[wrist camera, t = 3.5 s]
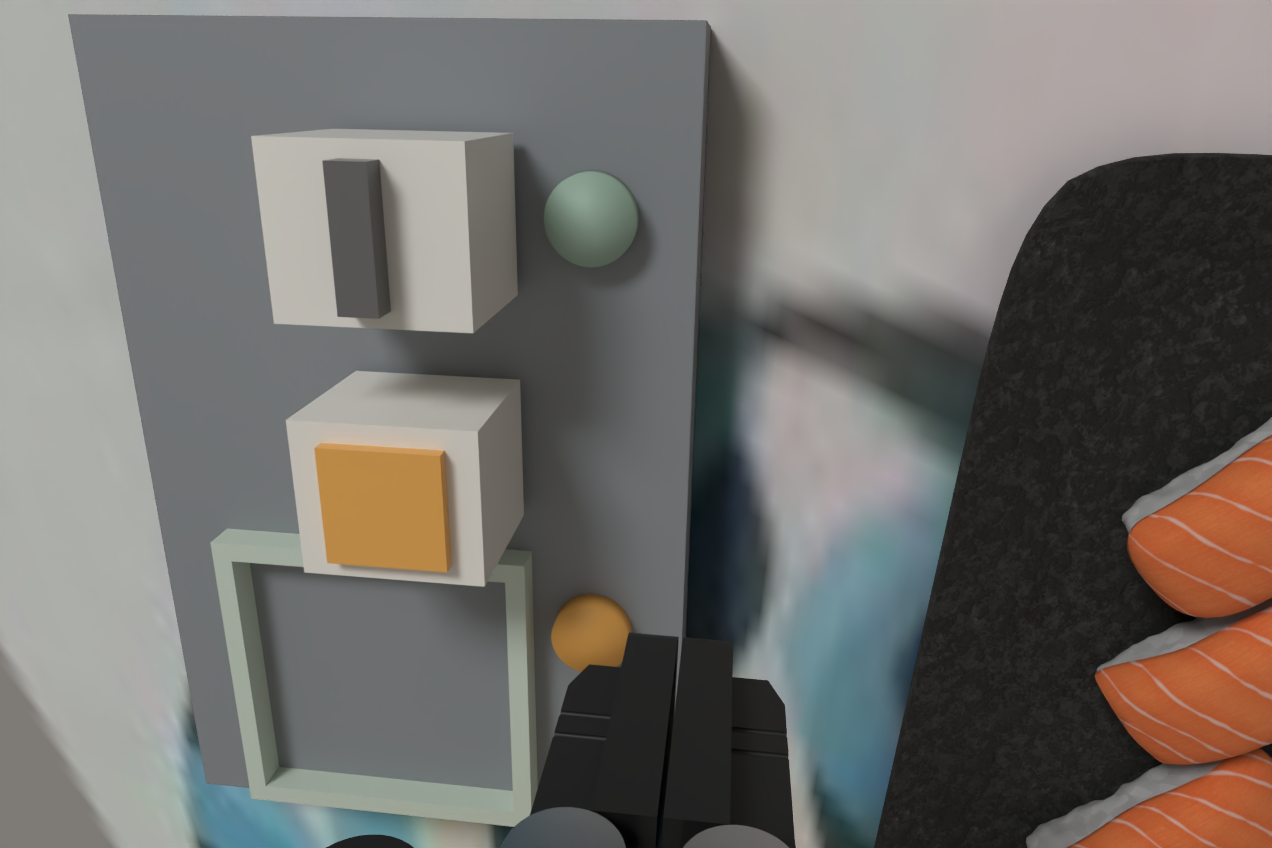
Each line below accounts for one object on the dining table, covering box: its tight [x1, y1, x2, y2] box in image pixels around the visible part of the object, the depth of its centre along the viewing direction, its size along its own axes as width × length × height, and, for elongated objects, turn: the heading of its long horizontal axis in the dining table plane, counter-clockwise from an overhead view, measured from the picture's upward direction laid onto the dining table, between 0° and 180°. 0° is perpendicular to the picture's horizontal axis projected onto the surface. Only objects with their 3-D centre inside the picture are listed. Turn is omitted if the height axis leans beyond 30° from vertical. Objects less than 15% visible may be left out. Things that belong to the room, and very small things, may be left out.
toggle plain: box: [251, 129, 518, 333], centre depth 18 cm, size 4×4×4 cm
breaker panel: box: [68, 14, 711, 827], centre depth 23 cm, size 14×21×3 cm, turn 179°
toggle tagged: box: [286, 371, 524, 587], centre depth 20 cm, size 4×4×4 cm
